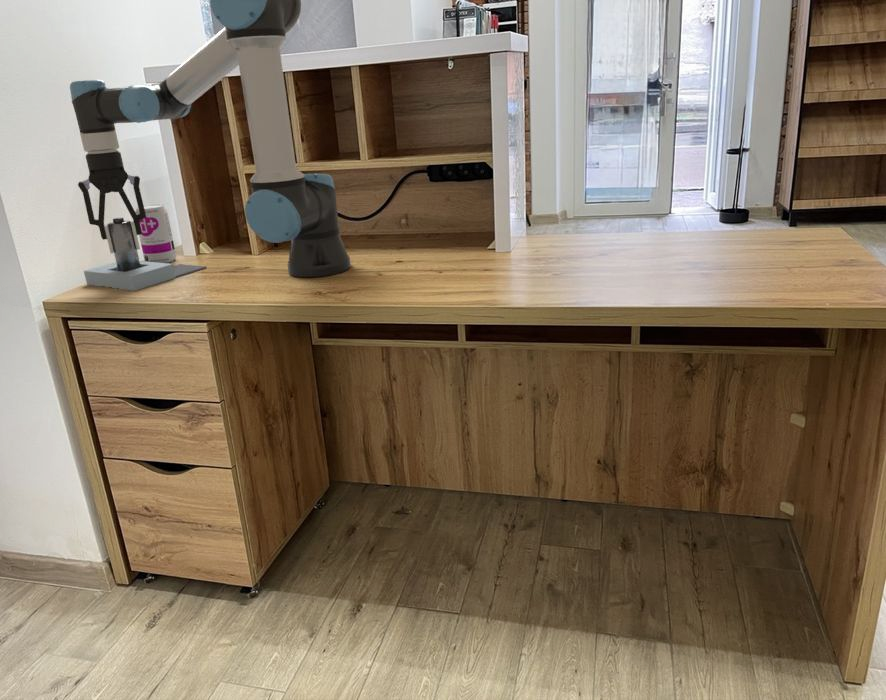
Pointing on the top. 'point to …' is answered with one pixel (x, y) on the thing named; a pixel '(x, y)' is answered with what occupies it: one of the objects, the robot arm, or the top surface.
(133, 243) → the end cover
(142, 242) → the supplement can
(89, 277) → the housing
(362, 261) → the top surface
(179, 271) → the pad
